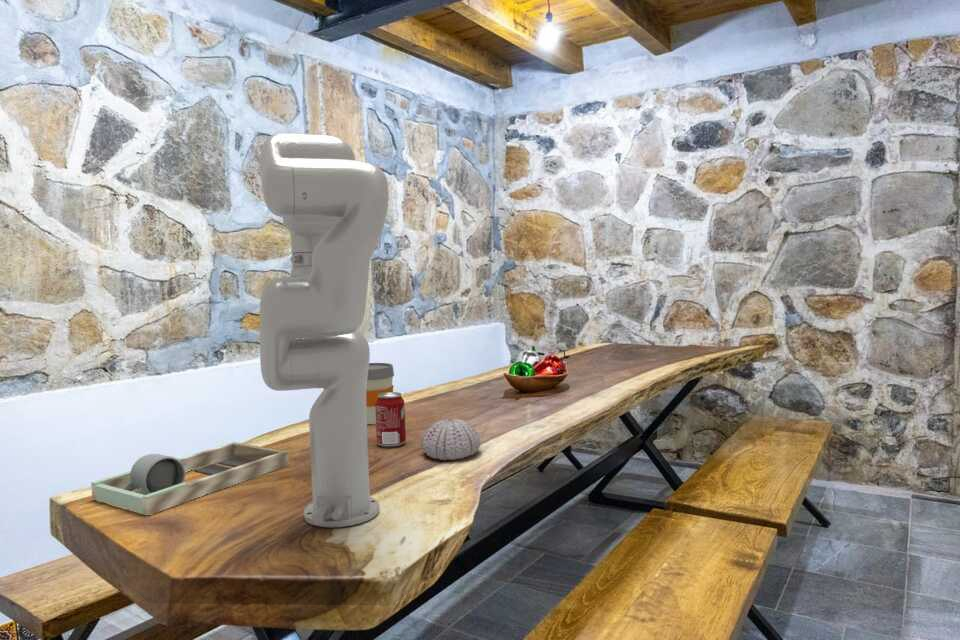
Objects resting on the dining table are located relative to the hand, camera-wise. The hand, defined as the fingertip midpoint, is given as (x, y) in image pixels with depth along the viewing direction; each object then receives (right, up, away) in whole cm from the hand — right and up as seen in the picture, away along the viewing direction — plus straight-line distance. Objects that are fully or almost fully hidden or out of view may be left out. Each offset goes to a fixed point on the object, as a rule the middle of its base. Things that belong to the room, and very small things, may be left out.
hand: (314, 348), depth 139 cm
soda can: (+14, -24, +16) cm, 32 cm away
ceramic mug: (-27, -27, -15) cm, 41 cm away
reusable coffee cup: (+6, -22, +40) cm, 46 cm away
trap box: (-21, -26, -8) cm, 35 cm away
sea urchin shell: (+29, -24, +7) cm, 38 cm away
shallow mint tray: (-28, -27, -18) cm, 43 cm away
